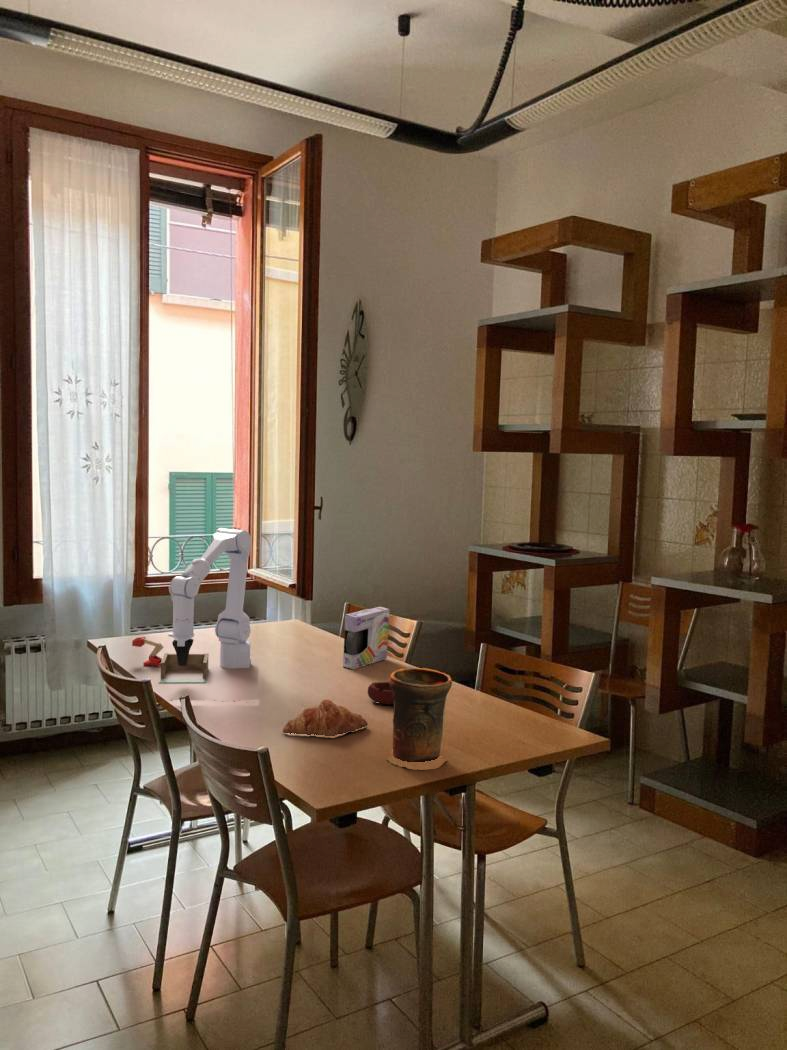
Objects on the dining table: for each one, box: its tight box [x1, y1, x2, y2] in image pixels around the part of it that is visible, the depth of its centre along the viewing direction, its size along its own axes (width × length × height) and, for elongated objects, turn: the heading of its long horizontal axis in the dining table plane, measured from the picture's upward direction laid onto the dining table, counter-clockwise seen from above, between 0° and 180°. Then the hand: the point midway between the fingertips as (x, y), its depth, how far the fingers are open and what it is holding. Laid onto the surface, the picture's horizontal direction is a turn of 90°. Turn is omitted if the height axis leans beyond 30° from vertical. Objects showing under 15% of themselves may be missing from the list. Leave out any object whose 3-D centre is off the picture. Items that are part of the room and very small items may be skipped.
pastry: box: [282, 699, 369, 736], centre depth 215 cm, size 17×15×8 cm
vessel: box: [388, 667, 453, 762], centre depth 198 cm, size 14×14×20 cm
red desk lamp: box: [131, 636, 164, 668], centre depth 264 cm, size 3×14×10 cm, turn 84°
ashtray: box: [367, 681, 394, 705], centre depth 243 cm, size 18×16×5 cm
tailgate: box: [158, 678, 207, 684], centre depth 249 cm, size 13×1×4 cm
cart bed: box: [160, 653, 209, 680], centre depth 257 cm, size 13×11×6 cm
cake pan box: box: [342, 606, 390, 670], centre depth 281 cm, size 19×5×18 cm, turn 143°
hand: (182, 665), depth 247 cm, fingers closed
